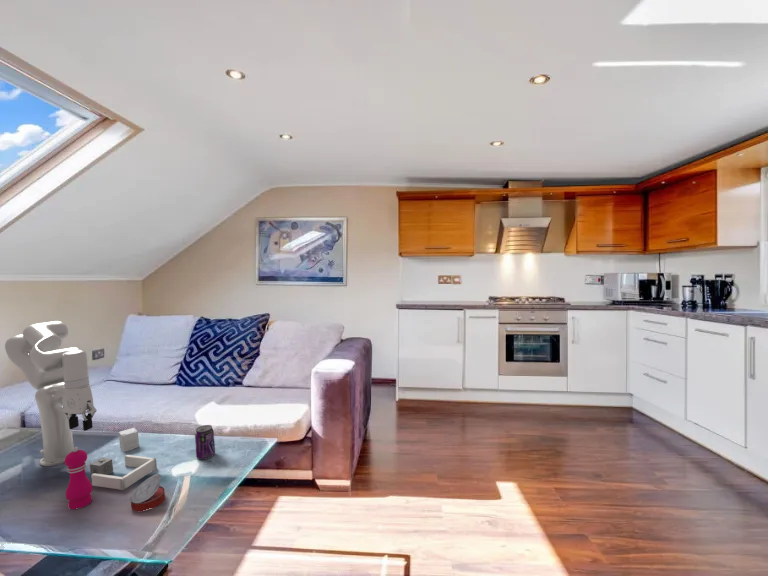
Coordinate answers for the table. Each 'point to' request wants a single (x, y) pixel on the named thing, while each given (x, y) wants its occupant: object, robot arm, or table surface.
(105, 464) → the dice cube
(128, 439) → the skincare box
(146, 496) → the canned food
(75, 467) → the pepper mill
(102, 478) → the box
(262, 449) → the table surface
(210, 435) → the beverage can
